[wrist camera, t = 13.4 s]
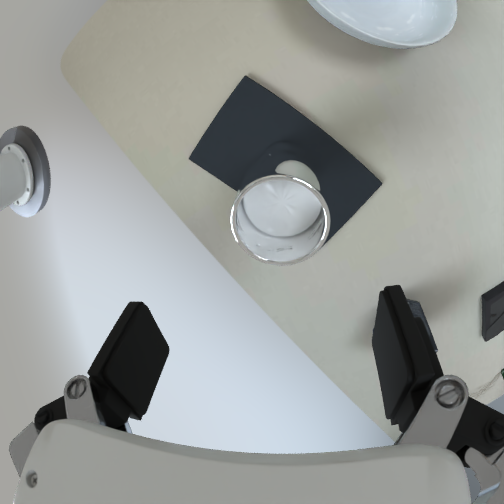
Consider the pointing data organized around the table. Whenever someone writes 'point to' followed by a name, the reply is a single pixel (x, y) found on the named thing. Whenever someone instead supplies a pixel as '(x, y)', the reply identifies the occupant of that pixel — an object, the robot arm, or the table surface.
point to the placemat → (273, 131)
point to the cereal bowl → (391, 20)
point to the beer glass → (281, 207)
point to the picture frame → (493, 312)
